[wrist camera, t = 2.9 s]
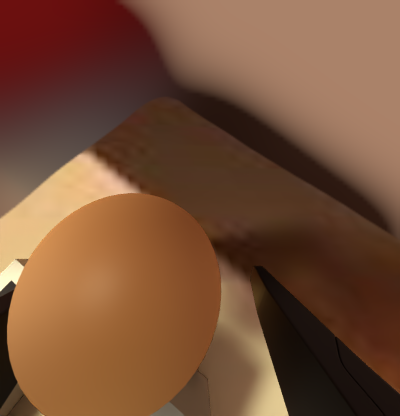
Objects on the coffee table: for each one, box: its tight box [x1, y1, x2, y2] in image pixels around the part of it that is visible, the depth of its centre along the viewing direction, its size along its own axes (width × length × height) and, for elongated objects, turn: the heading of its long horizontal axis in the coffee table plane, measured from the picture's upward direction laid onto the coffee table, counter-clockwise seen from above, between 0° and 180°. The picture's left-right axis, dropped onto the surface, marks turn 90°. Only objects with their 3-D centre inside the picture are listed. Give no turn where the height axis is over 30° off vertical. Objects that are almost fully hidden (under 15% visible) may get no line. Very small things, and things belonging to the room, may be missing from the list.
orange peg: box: [7, 193, 221, 416], centre depth 9 cm, size 4×4×13 cm
